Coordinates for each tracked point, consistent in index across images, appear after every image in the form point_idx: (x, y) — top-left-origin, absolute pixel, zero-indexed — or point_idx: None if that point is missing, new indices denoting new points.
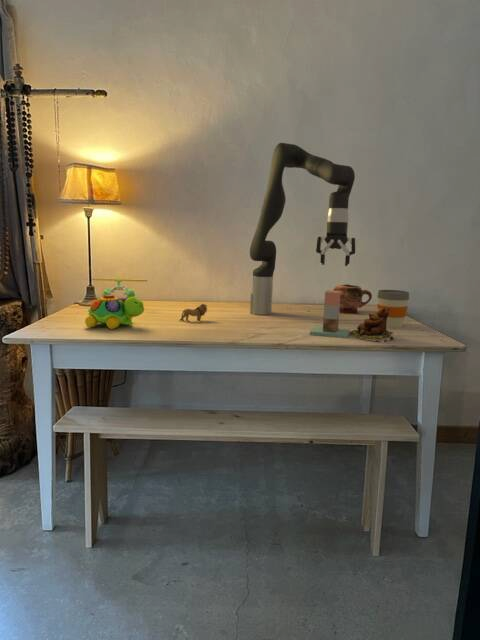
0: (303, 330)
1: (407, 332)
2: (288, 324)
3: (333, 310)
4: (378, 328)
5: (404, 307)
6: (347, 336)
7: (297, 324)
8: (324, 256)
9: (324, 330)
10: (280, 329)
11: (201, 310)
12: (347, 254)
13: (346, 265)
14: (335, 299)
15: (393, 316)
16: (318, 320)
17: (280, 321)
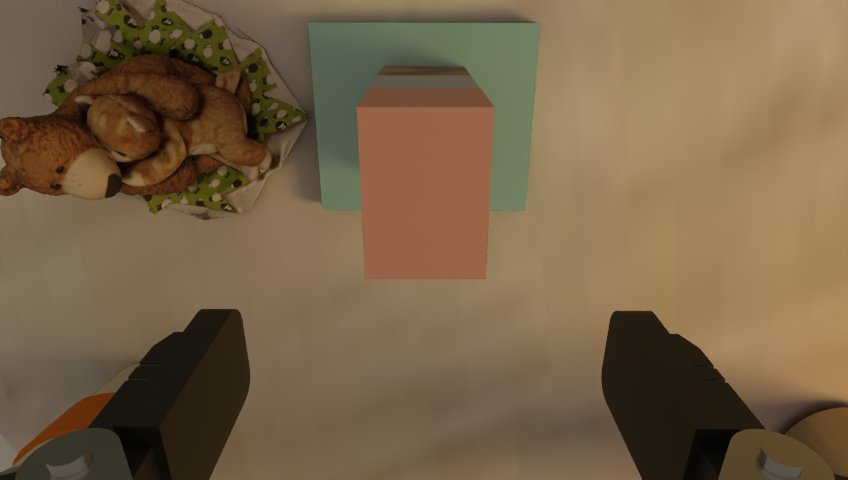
0: (580, 134)
1: (57, 317)
2: (673, 264)
3: (403, 83)
4: (115, 73)
5: (17, 455)
6: (309, 22)
7: (623, 284)
8: (670, 432)
9: (454, 67)
10: (717, 103)
11: None
12: (87, 442)
13: (211, 309)
14: (387, 96)
15: (102, 396)
16: (520, 423)
17: (718, 324)
